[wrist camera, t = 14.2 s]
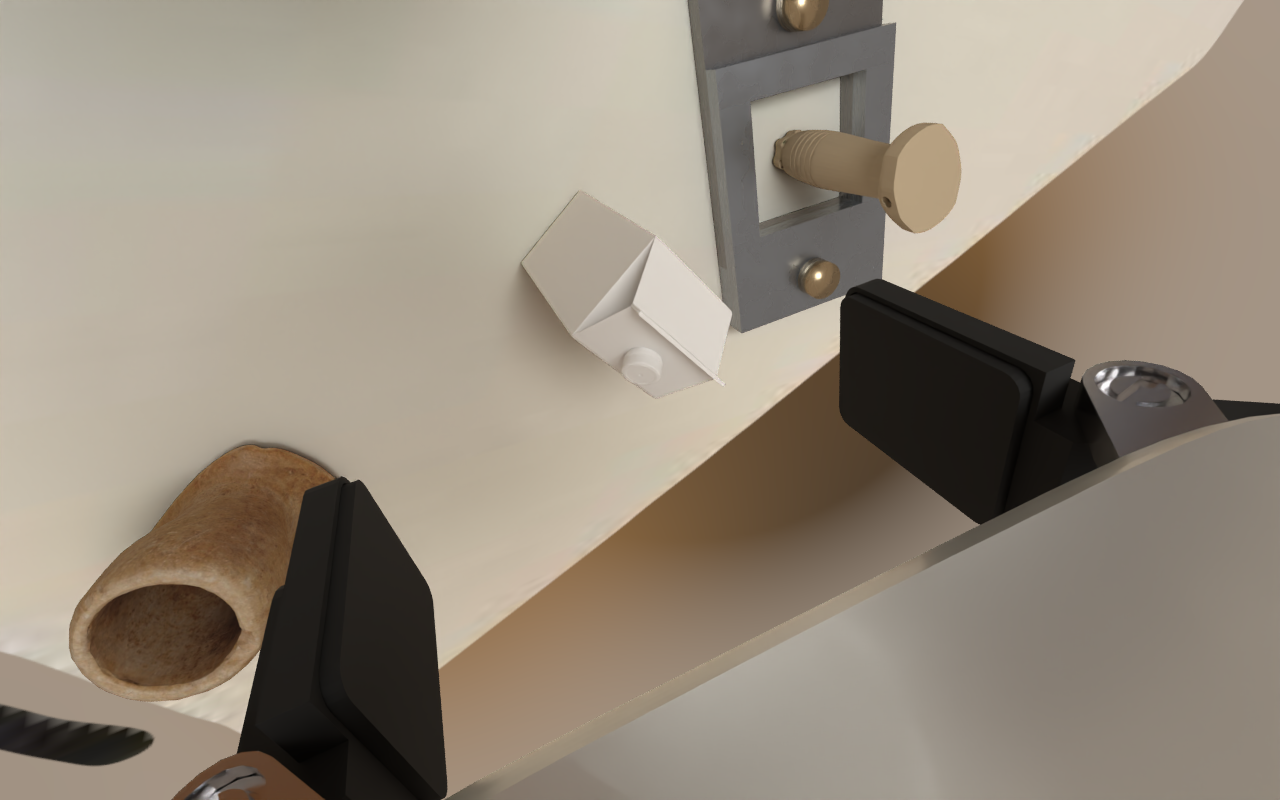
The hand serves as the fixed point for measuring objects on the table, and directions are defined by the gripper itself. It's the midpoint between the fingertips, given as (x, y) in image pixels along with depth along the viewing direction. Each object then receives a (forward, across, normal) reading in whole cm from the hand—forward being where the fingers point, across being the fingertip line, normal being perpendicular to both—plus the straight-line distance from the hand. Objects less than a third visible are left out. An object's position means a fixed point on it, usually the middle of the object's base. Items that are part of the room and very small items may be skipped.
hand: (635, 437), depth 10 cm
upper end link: (+34, -26, +8) cm, 44 cm away
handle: (+34, -26, +5) cm, 43 cm away
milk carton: (+34, -7, +8) cm, 36 cm away
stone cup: (+35, +25, +19) cm, 47 cm away
